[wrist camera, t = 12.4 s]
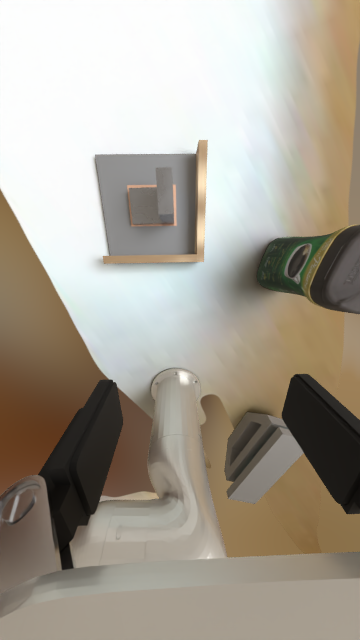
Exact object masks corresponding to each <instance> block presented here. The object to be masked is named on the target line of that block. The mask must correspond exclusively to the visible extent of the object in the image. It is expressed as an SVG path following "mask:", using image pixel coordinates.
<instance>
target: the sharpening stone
mask: <svg viewBox="0 0 360 640" xmlns="http://www.w3.org/2000/svg"><path fill="white" fill-rule="evenodd" d="M303 453H304V452H303V451H302V449H301V448H300V446H299V444H298V443H297V441H296V440H295V438H294V437H293V435H292V434H291V432H290V431H289V429H288V427H287V426H286V424H285V423H284V421H283V419H280V418H277V417H273V416H270V415H266V414H258V413H251V412H246V414H245V415H244V417H243V418H242V420H241V421H240V422H239V424H238V425H237V427H236V428H235V430H234V431H233V432H232V434H231V435H230V437H229V438H228V444H227V454H226V462H225V475H226V480H228V481H232V482H234V483H233V484H232V485H231V486H230V488H229V489H228V490H227V495H228V499H232V500H238V501H243V502H248V503H253V504H255V503H256V502H257V501H258V500H259V499H260V498H261V497H262V496H263V495H264V494H265V493H266V492H267V491H268V490H269V489H270V488H271V486H272V485H273V484H274V483H275V482H276V481H277V480H278V479H279V478H280V477H281V476H282V475H283V474H284V473H285V472H286V471H287V470H288V469H289V468H290V467H291V465H292V464H293V463H294V462H295V461H296V460H297V459H298V458H299V457H300V456H301V455H302V454H303Z"/></svg>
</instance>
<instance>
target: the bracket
mask: <svg viewBox="0 0 360 640" xmlns="http://www.w3.org/2000/svg"><path fill="white" fill-rule="evenodd" d="M156 182H157V187H142V188H129V196H130V205H131V214H132V223H133V224H134V225H157V224H174V201H173V179H172V167H162V168H156Z"/></svg>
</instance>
